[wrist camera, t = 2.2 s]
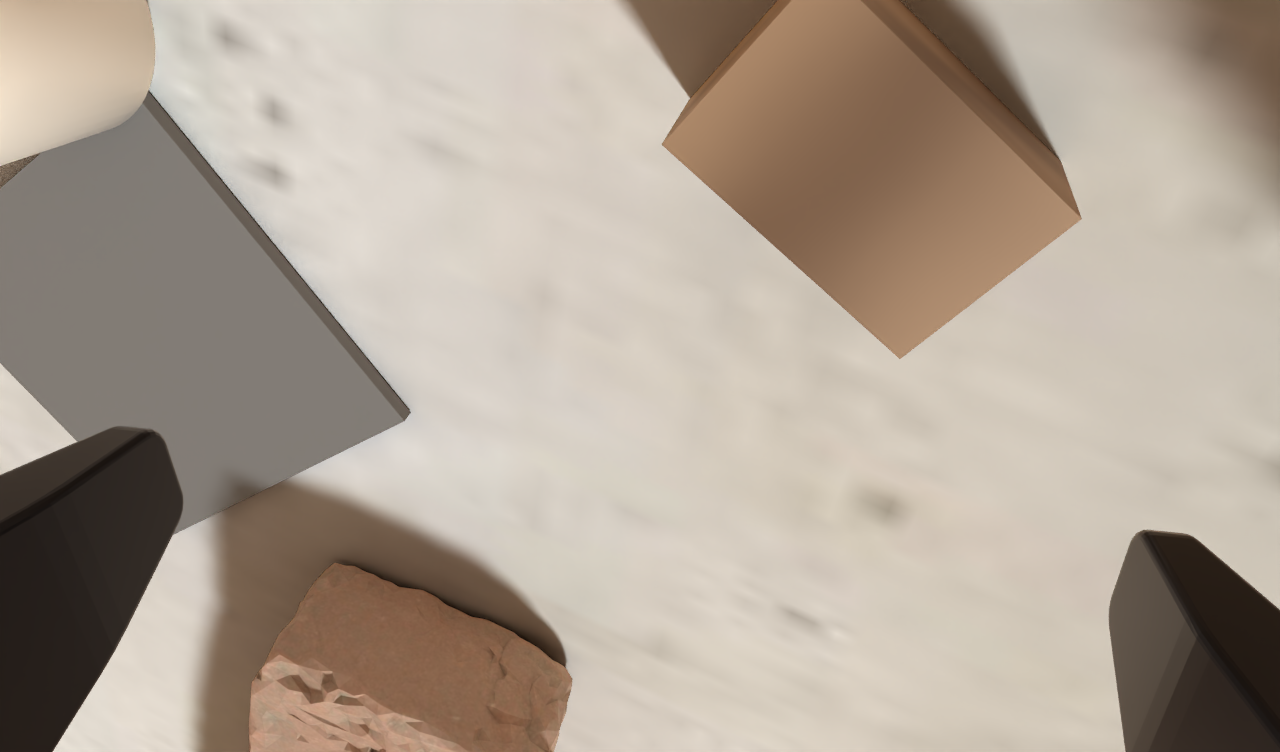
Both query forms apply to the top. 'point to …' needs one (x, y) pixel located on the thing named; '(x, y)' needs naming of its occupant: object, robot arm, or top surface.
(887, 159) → the walnut offcut
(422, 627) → the brick
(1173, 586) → the robot arm
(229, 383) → the mat
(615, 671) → the top surface
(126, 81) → the glue bottle
